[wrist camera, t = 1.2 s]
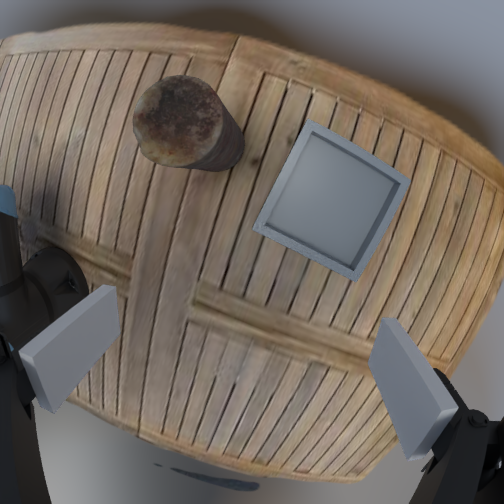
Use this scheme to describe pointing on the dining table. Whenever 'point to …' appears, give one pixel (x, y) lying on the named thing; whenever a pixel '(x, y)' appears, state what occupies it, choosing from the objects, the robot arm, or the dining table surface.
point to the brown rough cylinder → (186, 126)
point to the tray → (331, 201)
